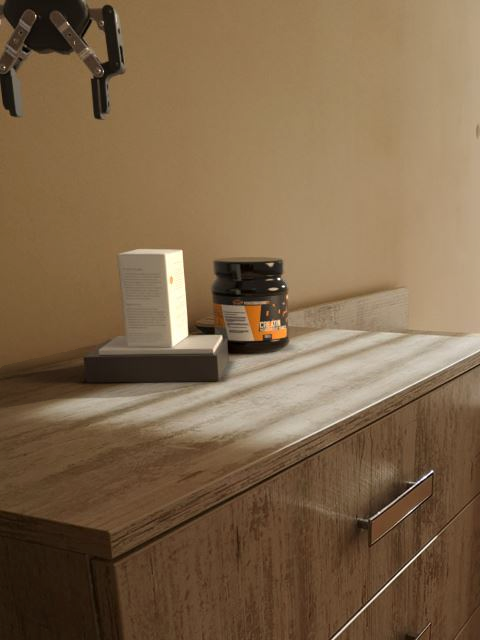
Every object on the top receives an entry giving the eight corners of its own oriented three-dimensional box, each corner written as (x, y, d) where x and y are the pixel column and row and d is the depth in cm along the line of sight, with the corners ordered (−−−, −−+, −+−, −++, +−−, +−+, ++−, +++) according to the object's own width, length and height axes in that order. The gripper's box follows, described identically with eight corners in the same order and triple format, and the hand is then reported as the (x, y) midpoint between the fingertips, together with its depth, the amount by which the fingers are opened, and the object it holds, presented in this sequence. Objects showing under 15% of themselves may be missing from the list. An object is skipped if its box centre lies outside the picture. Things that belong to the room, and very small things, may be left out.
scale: (84, 383, 94) (80, 351, 92) (108, 363, 105) (105, 334, 104) (218, 381, 95) (216, 350, 94) (228, 361, 106) (226, 333, 105)
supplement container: (230, 357, 109) (225, 263, 105) (204, 345, 117) (198, 258, 113) (302, 350, 114) (300, 260, 110) (272, 339, 122) (269, 255, 118)
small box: (145, 336, 102) (137, 248, 99) (189, 336, 102) (183, 248, 99) (125, 347, 95) (115, 252, 91) (173, 347, 95) (165, 253, 91)
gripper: (122, -48, 85) (134, 123, 90) (-20, -55, 84) (0, 119, 89) (105, -72, 78) (119, 116, 83) (-51, -79, 77) (-26, 112, 82)
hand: (58, 118), depth 86 cm, fingers open, 8 cm apart
